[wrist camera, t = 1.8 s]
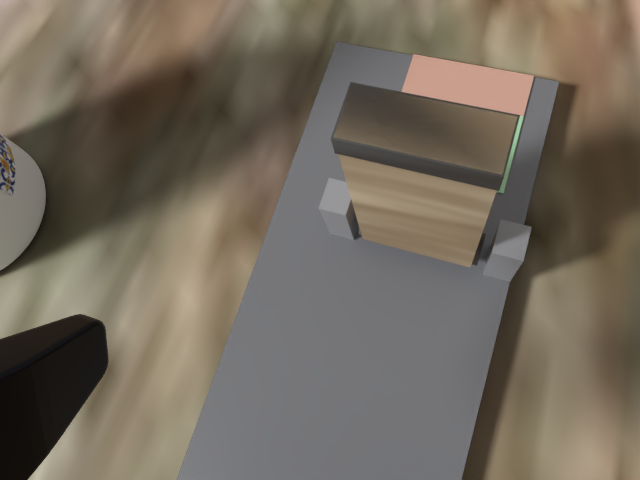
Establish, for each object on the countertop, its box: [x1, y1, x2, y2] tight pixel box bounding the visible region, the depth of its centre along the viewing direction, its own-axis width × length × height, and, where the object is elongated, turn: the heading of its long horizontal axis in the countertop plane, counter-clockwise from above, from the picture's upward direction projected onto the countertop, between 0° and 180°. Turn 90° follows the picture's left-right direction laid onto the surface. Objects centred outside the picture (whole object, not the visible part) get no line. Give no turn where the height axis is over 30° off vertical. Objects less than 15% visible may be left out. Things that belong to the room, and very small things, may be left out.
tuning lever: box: [331, 82, 520, 267], centre depth 17 cm, size 2×4×9 cm, turn 72°
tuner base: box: [177, 42, 559, 480], centre depth 21 cm, size 20×10×4 cm, turn 162°
